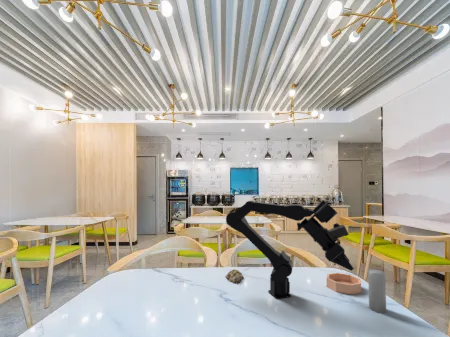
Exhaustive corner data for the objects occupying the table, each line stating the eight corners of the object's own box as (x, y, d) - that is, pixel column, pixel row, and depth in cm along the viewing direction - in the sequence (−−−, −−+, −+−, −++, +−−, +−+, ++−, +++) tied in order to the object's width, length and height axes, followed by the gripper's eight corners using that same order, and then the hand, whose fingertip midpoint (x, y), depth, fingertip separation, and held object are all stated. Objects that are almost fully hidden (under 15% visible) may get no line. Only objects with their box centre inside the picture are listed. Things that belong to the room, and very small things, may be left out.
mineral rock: (223, 269, 116) (240, 264, 117) (226, 278, 116) (242, 273, 117) (225, 279, 105) (243, 274, 106) (228, 289, 105) (246, 283, 106)
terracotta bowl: (343, 295, 95) (343, 286, 95) (320, 283, 107) (320, 274, 107) (368, 291, 99) (368, 282, 99) (343, 279, 111) (343, 271, 111)
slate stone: (378, 313, 82) (377, 275, 83) (365, 306, 86) (364, 270, 87) (389, 311, 83) (388, 273, 84) (376, 304, 88) (375, 268, 89)
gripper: (335, 220, 82) (374, 258, 78) (331, 214, 100) (363, 244, 96) (310, 242, 84) (347, 280, 80) (310, 232, 102) (340, 263, 98)
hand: (350, 265), depth 88 cm, fingers open, 9 cm apart
